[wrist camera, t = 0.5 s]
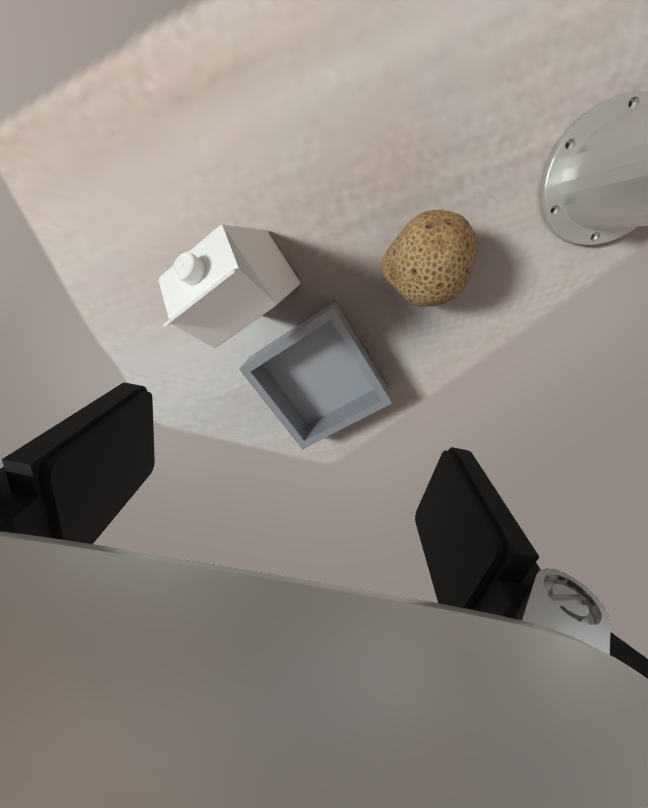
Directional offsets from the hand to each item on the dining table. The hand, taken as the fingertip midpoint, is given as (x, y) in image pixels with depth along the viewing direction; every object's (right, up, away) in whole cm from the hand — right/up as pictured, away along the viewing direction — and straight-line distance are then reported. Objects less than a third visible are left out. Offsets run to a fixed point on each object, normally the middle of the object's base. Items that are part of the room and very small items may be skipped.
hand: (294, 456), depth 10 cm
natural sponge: (+12, +19, +28) cm, 36 cm away
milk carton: (-7, +18, +30) cm, 35 cm away
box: (0, +6, +35) cm, 35 cm away
